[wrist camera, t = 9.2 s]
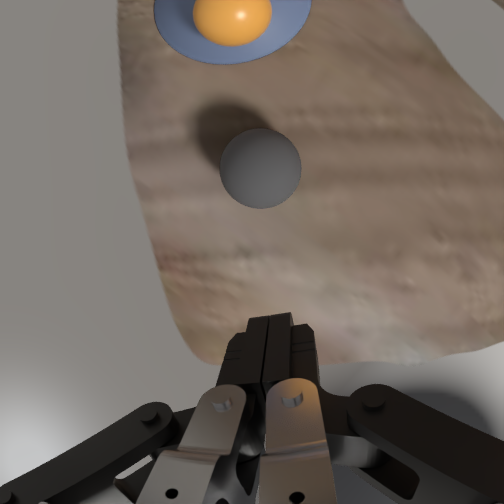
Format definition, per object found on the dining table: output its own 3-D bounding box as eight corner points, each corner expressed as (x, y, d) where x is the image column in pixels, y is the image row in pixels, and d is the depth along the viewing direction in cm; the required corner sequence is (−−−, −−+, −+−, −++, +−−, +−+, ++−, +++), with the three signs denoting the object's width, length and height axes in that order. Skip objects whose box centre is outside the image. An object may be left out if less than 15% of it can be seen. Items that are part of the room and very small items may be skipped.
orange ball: (206, 68, 21) (206, 33, 23) (284, 51, 20) (272, 17, 22) (178, 8, 16) (184, -19, 18) (269, -15, 15) (258, -37, 17)
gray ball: (240, 230, 25) (240, 172, 28) (314, 213, 23) (305, 154, 26) (201, 187, 20) (207, 127, 23) (291, 162, 18) (282, 102, 21)
